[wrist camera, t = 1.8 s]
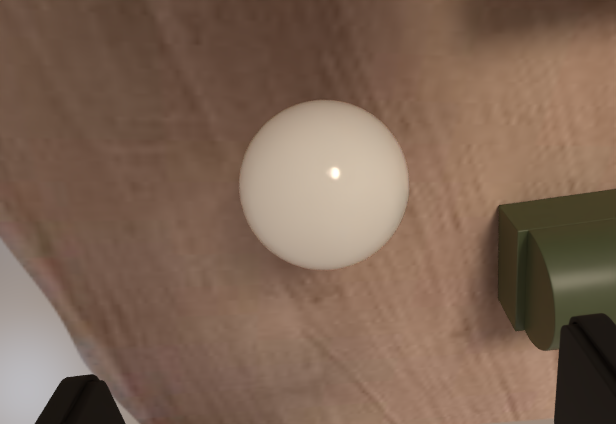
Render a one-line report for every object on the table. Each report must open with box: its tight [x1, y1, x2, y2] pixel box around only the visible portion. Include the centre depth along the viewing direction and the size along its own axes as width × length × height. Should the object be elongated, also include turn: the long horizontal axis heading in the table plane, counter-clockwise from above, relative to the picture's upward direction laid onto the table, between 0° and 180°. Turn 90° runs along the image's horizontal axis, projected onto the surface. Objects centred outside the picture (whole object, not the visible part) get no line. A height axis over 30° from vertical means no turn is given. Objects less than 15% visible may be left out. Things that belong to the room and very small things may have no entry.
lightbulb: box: [239, 100, 410, 270], centre depth 21 cm, size 6×6×11 cm
